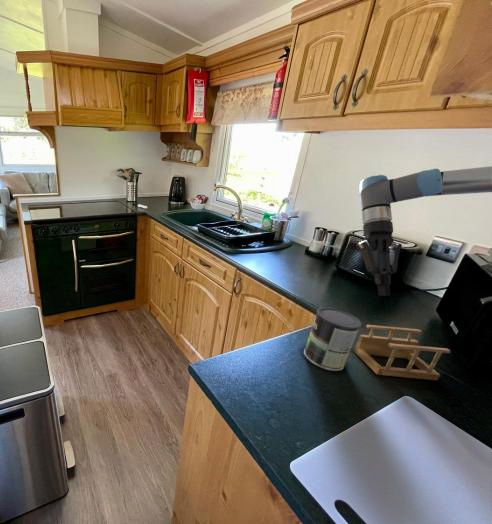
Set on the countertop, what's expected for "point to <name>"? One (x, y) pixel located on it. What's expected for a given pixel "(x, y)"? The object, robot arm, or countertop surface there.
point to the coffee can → (331, 338)
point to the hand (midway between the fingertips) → (384, 295)
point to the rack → (397, 353)
